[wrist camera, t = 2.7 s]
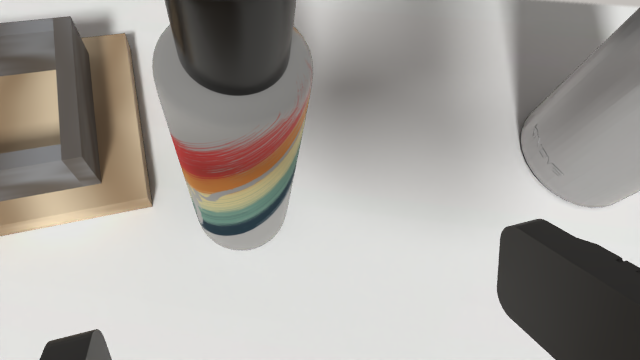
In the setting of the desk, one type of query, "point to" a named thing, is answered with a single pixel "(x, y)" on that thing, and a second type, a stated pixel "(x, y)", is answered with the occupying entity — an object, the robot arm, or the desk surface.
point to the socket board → (67, 127)
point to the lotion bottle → (235, 110)
